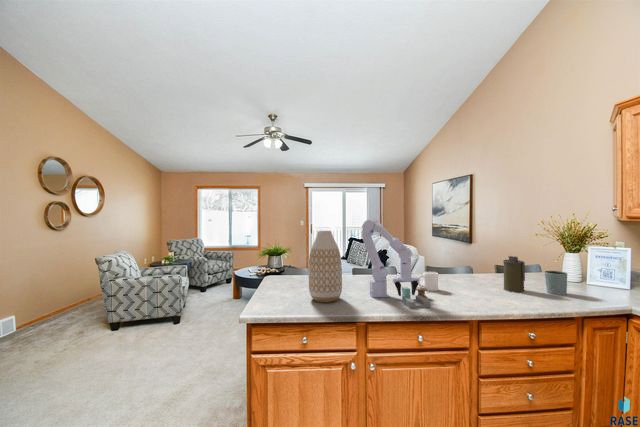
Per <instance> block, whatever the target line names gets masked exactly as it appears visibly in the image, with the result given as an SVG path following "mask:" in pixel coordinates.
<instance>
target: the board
mask: <svg viewBox="0 0 640 427" xmlns="http://www.w3.org/2000/svg"><path fill="white" fill-rule="evenodd" d="M401 296H402V295H401ZM401 299H402V300H401V303H403V305H404V306H406V307H408V308H409V309H418V308H419V309H420V308H423V309H424V308H431V301H430V300H429V299H428V298H427V299H426V298H424V297H423V296H417V295H415V298H414V299H413V298H412V297H410V298H409V297H408V296H402V297H401Z"/></svg>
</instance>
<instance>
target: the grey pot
mask: <svg viewBox="0 0 640 427" xmlns="http://www.w3.org/2000/svg"><path fill="white" fill-rule="evenodd" d="M544 278H545V285H546V292H547V294H551V295H555V296H566V295H567V288H568V273H567V272H565V271H562V270H561V271H559V270H545V271H544Z"/></svg>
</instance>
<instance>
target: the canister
mask: <svg viewBox="0 0 640 427" xmlns="http://www.w3.org/2000/svg"><path fill="white" fill-rule="evenodd" d="M507 258H508V259H504V260H502V262H503V290H504V291H507V292H510V293H519V294H520V293H524V292H525V291H526V290H525V281H526V269H525V268H526V265H525V264H526V263H525V261H523V260H520V259H519V258H518V256H513V255H508V257H507Z"/></svg>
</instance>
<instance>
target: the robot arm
mask: <svg viewBox="0 0 640 427" xmlns="http://www.w3.org/2000/svg"><path fill="white" fill-rule="evenodd" d="M361 227H362V230H361V231H362V232H361V238H362V241H363V243H364V247H365V249H366V252H367V254H368V257H369V259H370V262H371V270H372V274H371V275H372V278H373V280H372V279H371V280H369V295H370V296H371V297H372V298H389V297H390V295H389V294H388V293H387V292H388V288H387V286H388V285H387V284H388V283H387V276H388V274H389V273H388V272H389V271H388V269H387V268H386V267H385V266H384V263H383V262H382V261H381V259H380V256H379V253H378V251H377V248H376V246H375V242H374V239H373V237H372V236H373V234H374V233H375V232H376V233H379V234H380V235H381V236H382V237H383V238H384V239H385V240H386V241H388V244H389V246H390V247H391V249H393V251H394V252H395V253H397V254H398V257H399V259H400V260H399V261H400V262H399V263H400V264H399V265H400V277H395V278H392V283H393V284H394V285H395V288H396V290H397V295H398V296H399V297H401V296H402V284H401V283H410V285H411V295H412V296H416V291H417V290H416V288H417V287H419V283H418V282H420V283H421V278H418V277H412V258H411V257H412V255H413V252H412V250H411V248H410V247H408V246H407V245H405V244H404V243H403V242H401V239H400V238H397V237H394V236H392V235H391V233H390V232H389V231H388V230H387V229H386V228H385V227H384V226H383V225H382V223H381V222H379V221H378V220H377V219H376V218H375V219H374V218H373V219H366V220H365V221H364V222H363V224H362V226H361Z"/></svg>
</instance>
